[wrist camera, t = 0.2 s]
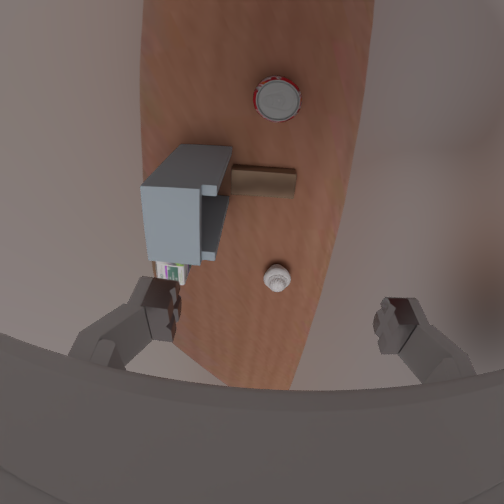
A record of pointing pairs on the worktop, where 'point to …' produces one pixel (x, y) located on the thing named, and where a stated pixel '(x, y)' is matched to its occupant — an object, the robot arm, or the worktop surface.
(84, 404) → the robot arm
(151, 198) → the shelf
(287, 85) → the soda can
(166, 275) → the syrup box
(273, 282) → the white ceramic jar
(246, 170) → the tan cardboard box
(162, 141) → the worktop surface
